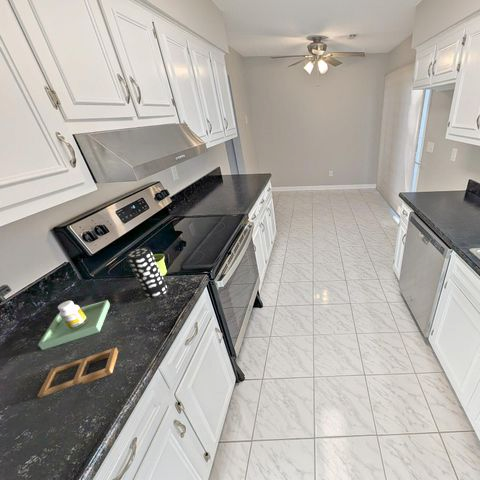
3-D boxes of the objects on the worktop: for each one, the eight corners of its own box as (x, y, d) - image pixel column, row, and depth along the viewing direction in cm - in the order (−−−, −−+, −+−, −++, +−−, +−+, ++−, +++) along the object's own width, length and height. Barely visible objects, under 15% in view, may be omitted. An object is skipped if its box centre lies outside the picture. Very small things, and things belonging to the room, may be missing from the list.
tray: (42, 350, 85) (37, 344, 84) (61, 318, 98) (57, 313, 97) (99, 331, 91) (96, 326, 89) (110, 304, 103) (107, 299, 102)
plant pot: (144, 278, 119) (136, 262, 115) (162, 267, 126) (155, 252, 122) (156, 282, 115) (149, 266, 111) (174, 271, 123) (168, 255, 118)
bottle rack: (41, 400, 70) (37, 395, 69) (54, 373, 77) (51, 369, 76) (112, 373, 75) (109, 369, 74) (118, 351, 82) (115, 347, 81)
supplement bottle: (80, 318, 97) (67, 298, 92) (91, 319, 96) (78, 299, 91) (65, 328, 92) (50, 309, 88) (77, 330, 91) (62, 310, 86)
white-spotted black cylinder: (158, 299, 104) (138, 258, 95) (141, 298, 106) (120, 257, 96) (171, 286, 111) (155, 247, 102) (155, 285, 113) (137, 246, 103)
